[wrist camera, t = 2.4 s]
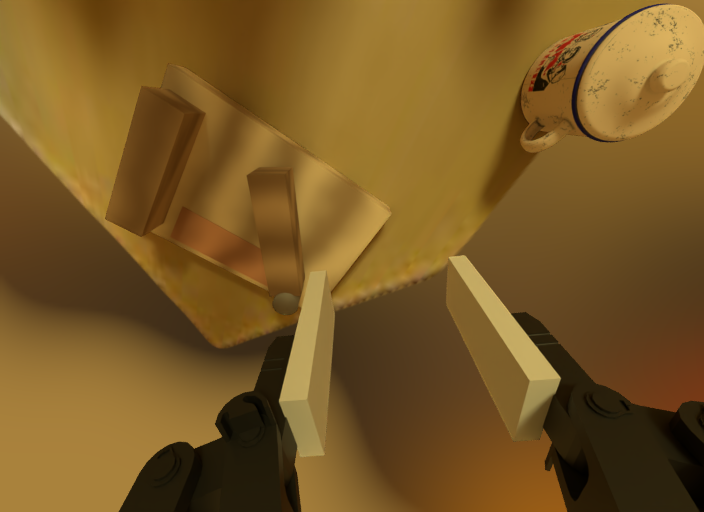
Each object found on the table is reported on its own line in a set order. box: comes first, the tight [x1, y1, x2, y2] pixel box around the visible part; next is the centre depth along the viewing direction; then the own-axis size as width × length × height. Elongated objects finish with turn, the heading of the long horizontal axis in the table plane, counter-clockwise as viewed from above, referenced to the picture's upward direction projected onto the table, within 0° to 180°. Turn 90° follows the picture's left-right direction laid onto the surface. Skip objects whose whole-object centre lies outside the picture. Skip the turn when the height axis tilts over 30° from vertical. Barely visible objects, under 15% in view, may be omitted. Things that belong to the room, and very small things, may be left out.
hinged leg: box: [247, 167, 305, 315], centre depth 32 cm, size 16×4×4 cm, turn 1°
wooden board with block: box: [105, 63, 391, 308], centre depth 32 cm, size 26×18×7 cm
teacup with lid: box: [520, 4, 704, 153], centre depth 24 cm, size 12×9×12 cm
